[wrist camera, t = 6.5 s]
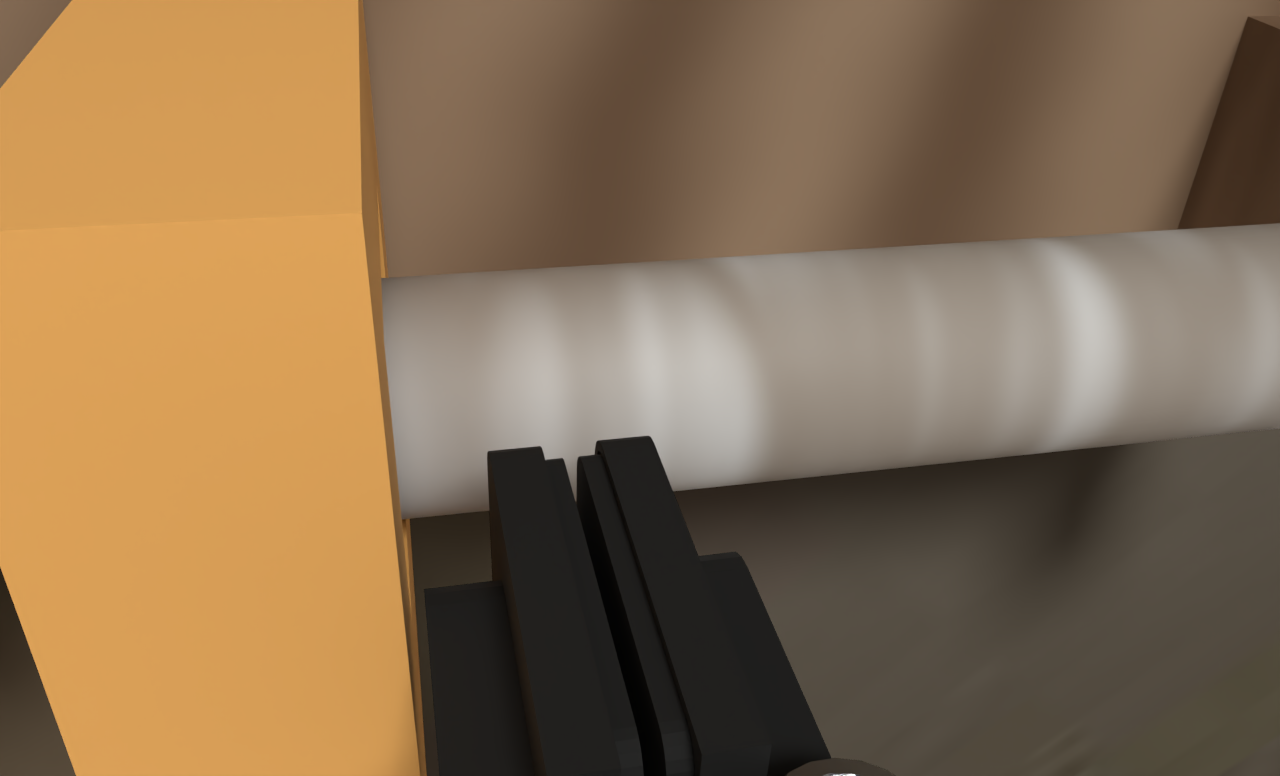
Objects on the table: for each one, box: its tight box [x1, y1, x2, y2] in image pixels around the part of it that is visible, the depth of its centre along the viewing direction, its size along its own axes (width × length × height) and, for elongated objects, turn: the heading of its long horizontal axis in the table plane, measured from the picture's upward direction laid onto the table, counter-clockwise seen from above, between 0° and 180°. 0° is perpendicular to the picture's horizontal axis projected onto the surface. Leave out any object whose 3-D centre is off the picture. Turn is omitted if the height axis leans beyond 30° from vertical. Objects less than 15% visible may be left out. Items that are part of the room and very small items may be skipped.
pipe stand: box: [0, 0, 1280, 519], centre depth 16 cm, size 28×10×8 cm, turn 88°
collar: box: [0, 0, 427, 776], centre depth 14 cm, size 3×9×9 cm, turn 178°
